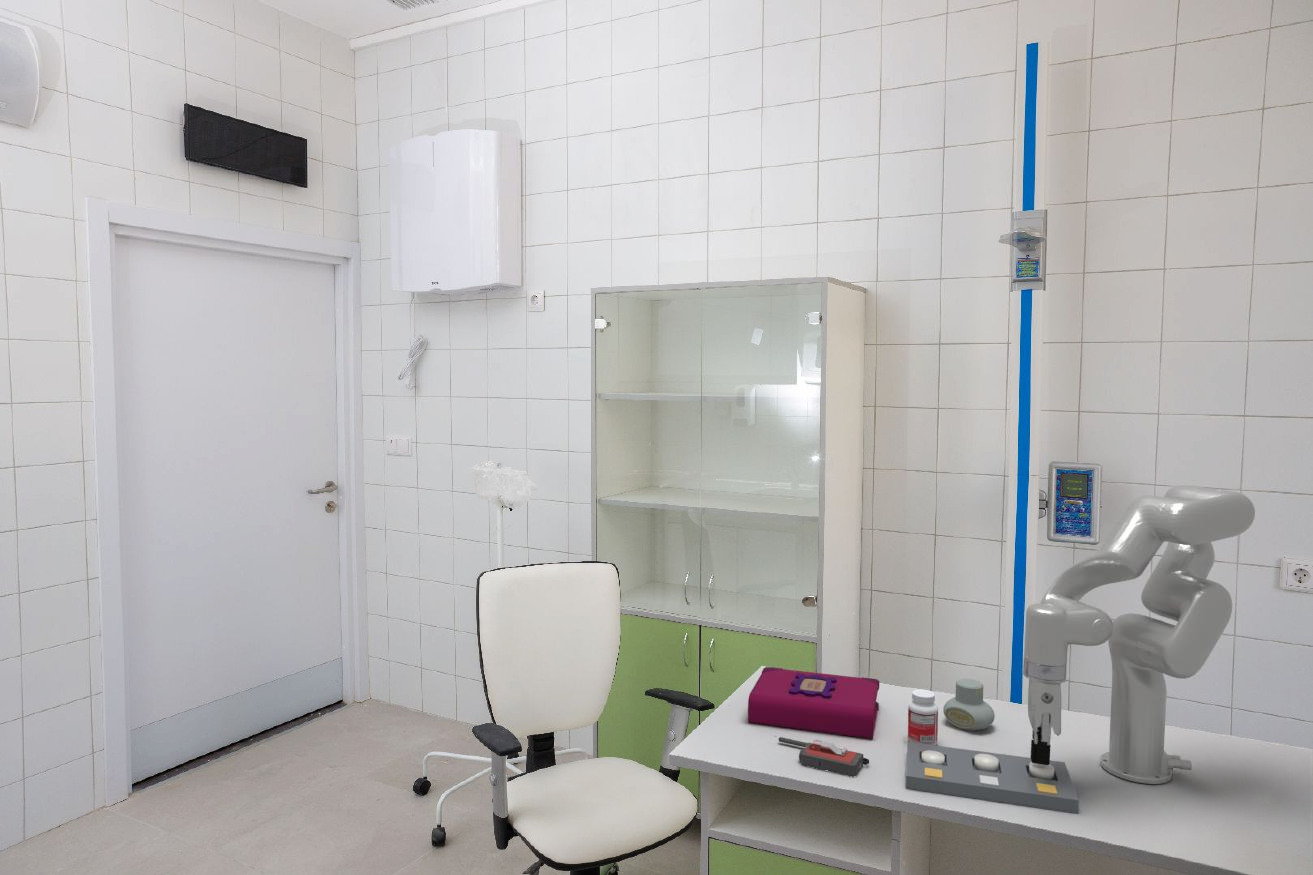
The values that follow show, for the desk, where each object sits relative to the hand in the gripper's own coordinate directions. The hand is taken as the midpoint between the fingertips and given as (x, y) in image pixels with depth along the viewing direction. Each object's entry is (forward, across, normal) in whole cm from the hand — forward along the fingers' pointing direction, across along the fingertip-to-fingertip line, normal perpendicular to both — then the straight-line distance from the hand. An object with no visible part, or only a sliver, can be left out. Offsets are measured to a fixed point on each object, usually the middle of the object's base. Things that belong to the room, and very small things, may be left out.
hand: (1039, 762), depth 161 cm
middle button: (+3, 0, +10) cm, 10 cm away
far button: (+4, 0, +20) cm, 20 cm away
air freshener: (+5, +26, +12) cm, 29 cm away
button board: (+5, -1, +10) cm, 11 cm away
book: (+6, +22, +46) cm, 51 cm away
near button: (+3, 0, 0) cm, 3 cm away
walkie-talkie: (+6, -2, +42) cm, 42 cm away
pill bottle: (+5, +13, +22) cm, 26 cm away
